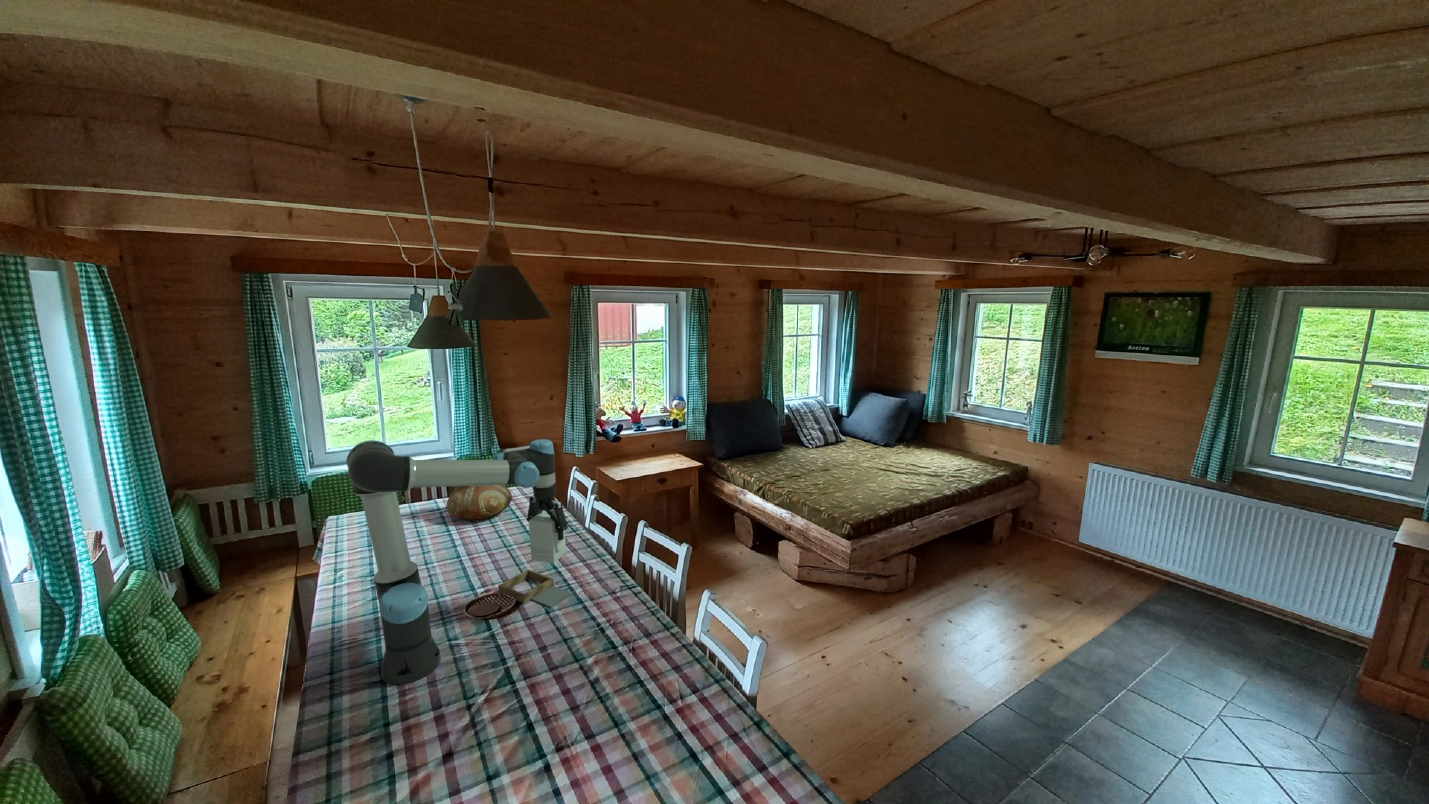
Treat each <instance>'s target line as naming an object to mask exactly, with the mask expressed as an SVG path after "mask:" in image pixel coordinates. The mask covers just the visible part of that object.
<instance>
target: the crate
mask: <svg viewBox="0 0 1429 804" xmlns="http://www.w3.org/2000/svg"><path fill="white" fill-rule="evenodd" d="M528 579H530V580H532V581H536V582H538V583H540V584H539V585H537V586H535V587H534V588H532V589H530V590H528V591H527V592H525V593H522V592H520V591H517V590H515V589H512V588H513V587H515V586H517V585H518V584H520V583H522V582H524V581H526V580H528ZM554 582H555V581H554V578H553V577H549V576H547V575H544V574H542V573H538V572H536V571H535V570H534V571H533V570H532V569H531V570H530V569H526V570H525V571H523V572H521V573H519V574H517V575H516V576H513V577H511V578H509V579H508V580H506V581H504V582H501V583H500V584H498V585H497V586H498V587H497V588H498V593H499V594H500V593H501V595H503V594H505V595H508V596H510V597H513V598H514V599H513V600H515V599H516V600H515V601H517V602H520V603H521V604H522V603H523V604H526V603H527V602H530V601H532V600H531V598H532V597H534V596H536V595H538V594H539V593H541V592H543V591H544V590H546V589H548V588H549V587H551V586H555V583H554ZM505 595H504V596H505ZM510 597H509V598H510Z"/></svg>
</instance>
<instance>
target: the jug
mask: <svg viewBox="0 0 1429 804" xmlns="http://www.w3.org/2000/svg"><path fill="white" fill-rule="evenodd" d="M453 487H454V490H453V491H452V492H451V494H449V497H448V499H447V501H446V507H447V509H448V511H449V512H450V513H451V515H452V516H455V517H457V518H459V519H462V520H465V521H471V522H472V521H475V522H476V521H484V520H488V519H490V518H493V517H495V516H496V515H498V514H500V513H502V512H503V511H504V510H506V509H507V508H508V507H509V506H510V504H511V503H512V499H513V495H512V492H511V491H510V489H509V487H507V485H480V486H453Z"/></svg>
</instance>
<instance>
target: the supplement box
mask: <svg viewBox="0 0 1429 804" xmlns="http://www.w3.org/2000/svg"><path fill="white" fill-rule="evenodd" d="M528 526H529V528H528V529H529V545H530V557H531V558H530V559H531V560H530V561H532V562H541V563H549V564H550V563H551V564H555V563H556V562H557V561H559V559H560V558H561V557H563V555H564V554H565V553H566V552H567V550H566V549H567V548H566V530H564V531H563V533H564V539H563V547H562V548H560V549H558V550H556V542H555V531H557V530H556V528H555V523H554V521H553V520H551V517H550V515H548V514H547V512H546V511H544V510H543V511H542V513H541V514H539V515H537V516H535V517H533V518H532V519H530V520H529V522H528ZM559 528H560V527H559Z"/></svg>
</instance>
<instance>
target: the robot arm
mask: <svg viewBox="0 0 1429 804" xmlns="http://www.w3.org/2000/svg"><path fill="white" fill-rule="evenodd" d="M554 450H555V449H554V444H553V441H551V440H550V439H546V438H545V439H544V438H542V439H541V438H540V439H535V440H532V441H531V442H530V443H529V447H528V448H523V449H522V448H521V449H515V450H509V451H502V452H499V453H498V452H497V453H495V454H494V455H493V457H492V459H446V460H445V459H413V458H412V457H411V456H406V455H405V456H404V455H403V456H401V455H396V454H395V452H394V450H393V448H392V447H391V446H390V445H388V444H387V443H385V442H383V441H381V440H374V439H373V440H365V441H361V442H360V443H357V444H356V445H355V446H353V447H352V448H351V449H350V451H349V453H348V455H347V457H346V467H347V469H348V470H347V474H348V477H349V480H350V482H351V486H352V490H353V494H354V495H356V496H358V497H360V498H361V500H362V501H361V502H362V506H363V509H364V510H363V511H364V514H365V519H366V524H367V528H368V531H369V537H370V540H371V544H372V550H373V555H374V558H375V559H374V560H375V562H376V567H377V572H375V574H374V576H373V581H374V587H375V590H376V596H377V600H378V604H379V607H378V608H379V614H380V617H381V618H380V619H381V623H382V624H381V625H382V632H383V640H384V648H385V650H384V654H383V658H382V662H381V667H380V672H381V673H380V674H381V675H380V676H381V679H382V680H383V681H384V682H385V683H388V684H390V685H391V684H392V685H402V684H403V685H405V684H409V683H411V682H415V681H418V680H420V679H423V678H425V677H426V676H428V675H430V674H431V673H432V672H434V671H435V669H437V668H438V667H439V665H440V663H441V660H442V656H441V654H442V653H441V650H440V647H439V645H438V644H437V642H436V640H435V639H434V637H433V635H432V628H431V627H432V625H431V619H430V610H429V596H428V593H427V590H426V588H425V587H424V586H423V585H422V580H421V577H420V573H419V567H418V564H417V562H414V561H411V557H410V551H409V546H408V543H407V537H406V534H405V533H406V532H405V529H404V523H403V519H402V514H401V508H400V505H399V500H398V494H397V492H409V491H411V490H412V488H437V487H443V488H444V487H454V486H480V485H504V486H507V485H508V486H509V485H510V486H514V485H515V486H517V487H520V488H525V489H528V488H532V489H533V492H532V493H533V495H532V496H529V497H528V500H529V504H528V510H527V517H526V521H527V522H528V523H529V520H530V519H532V518H533V517H535V516H537V515H539V514H541V513H542V511H544V512H547V514H548V515H550V517H551V520H553V521H554V523H555V528H556V530H557V531H555V542H556V550H558V549H560V548H562V547H563V539H564V533H563V531H564V530H565V531H566V530H569V526H568V523H567V518H566V515H565V512H564V508H563V501H561V500H560V501H556V498H555V497H556V495H557V484H556V468H555V466H556V465H555V451H554ZM559 527H560V528H559Z"/></svg>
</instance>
